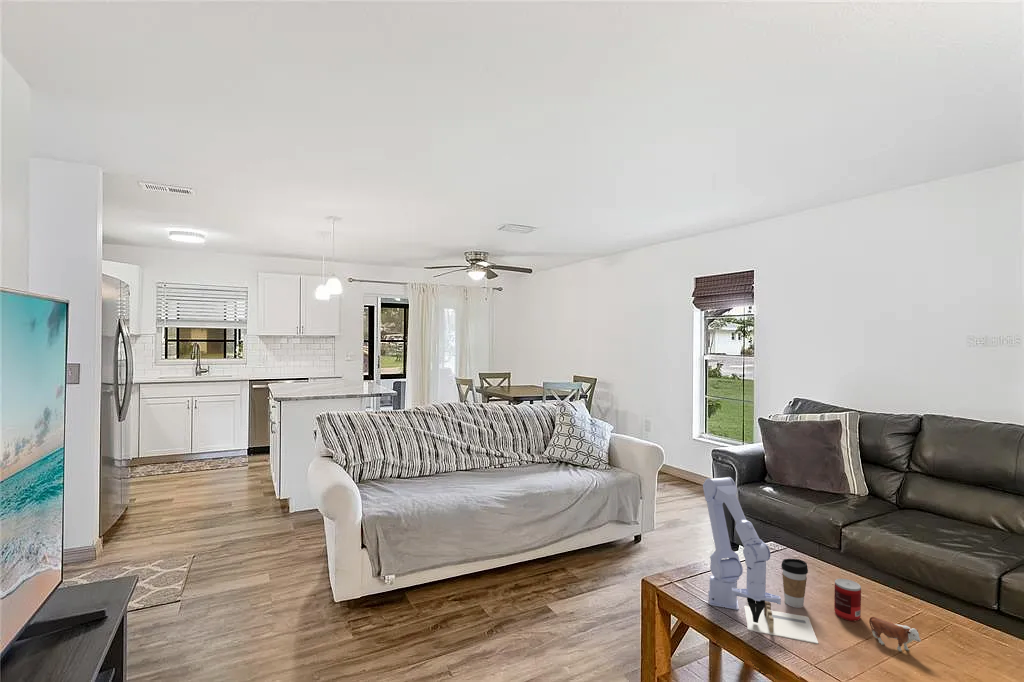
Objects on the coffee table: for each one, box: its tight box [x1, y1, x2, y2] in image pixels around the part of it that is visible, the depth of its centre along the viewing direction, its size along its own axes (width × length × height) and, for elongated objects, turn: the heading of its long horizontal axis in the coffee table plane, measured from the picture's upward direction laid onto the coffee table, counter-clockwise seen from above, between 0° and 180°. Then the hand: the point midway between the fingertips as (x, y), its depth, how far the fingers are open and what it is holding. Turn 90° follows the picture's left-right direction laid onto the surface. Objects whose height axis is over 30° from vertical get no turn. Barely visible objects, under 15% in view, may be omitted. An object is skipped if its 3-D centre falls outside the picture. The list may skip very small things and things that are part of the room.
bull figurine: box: [868, 616, 922, 652], centre depth 158 cm, size 4×13×8 cm, turn 36°
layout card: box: [743, 605, 819, 645], centre depth 170 cm, size 20×16×1 cm
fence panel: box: [766, 605, 774, 632], centre depth 169 cm, size 10×1×4 cm, turn 160°
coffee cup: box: [780, 558, 809, 609], centre depth 184 cm, size 8×8×15 cm
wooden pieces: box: [764, 601, 772, 616], centre depth 177 cm, size 2×6×5 cm, turn 159°
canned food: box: [833, 578, 862, 622], centre depth 176 cm, size 8×8×11 cm
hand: (755, 620), depth 169 cm, fingers closed
